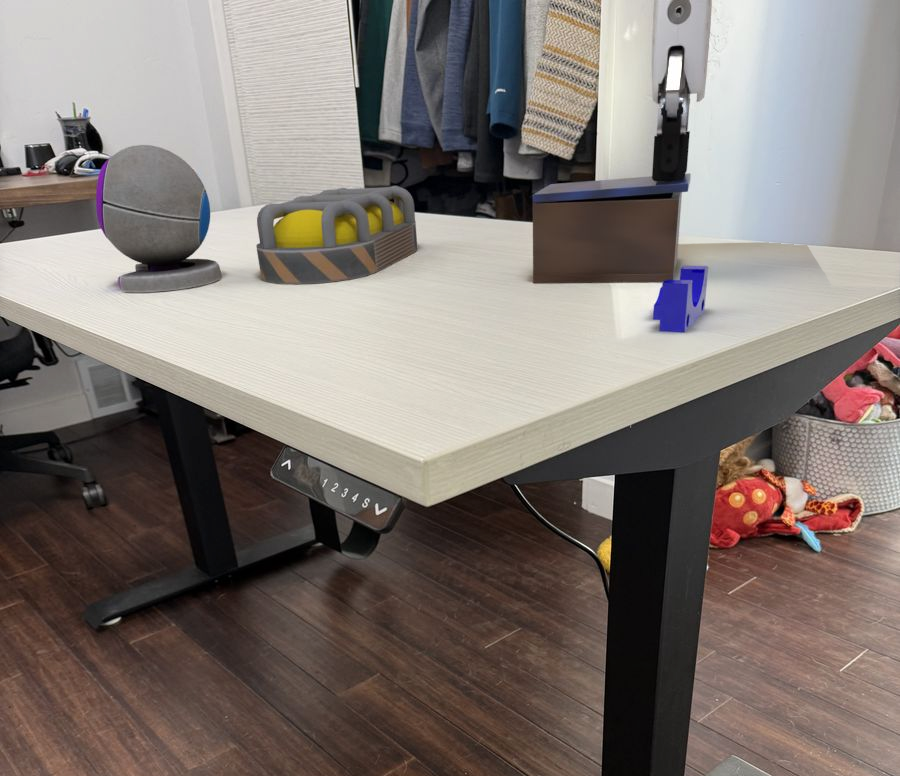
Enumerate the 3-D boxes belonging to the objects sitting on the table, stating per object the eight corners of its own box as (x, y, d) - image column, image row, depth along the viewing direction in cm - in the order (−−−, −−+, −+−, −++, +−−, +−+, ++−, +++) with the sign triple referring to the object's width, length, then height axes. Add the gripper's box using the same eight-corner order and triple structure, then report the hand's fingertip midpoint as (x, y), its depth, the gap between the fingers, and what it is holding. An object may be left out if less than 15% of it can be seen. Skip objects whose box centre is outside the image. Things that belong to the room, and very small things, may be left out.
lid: (690, 181, 94) (692, 119, 91) (687, 191, 84) (690, 123, 81) (550, 191, 98) (548, 133, 95) (532, 203, 88) (530, 138, 85)
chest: (676, 263, 98) (682, 187, 94) (673, 281, 89) (679, 198, 85) (549, 264, 102) (550, 192, 98) (533, 283, 92) (532, 203, 88)
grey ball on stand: (127, 277, 111) (97, 146, 103) (227, 270, 112) (204, 139, 104) (104, 296, 100) (68, 150, 92) (216, 287, 101) (189, 142, 93)
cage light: (426, 182, 119) (346, 206, 94) (430, 244, 123) (354, 283, 98) (328, 186, 122) (226, 210, 98) (335, 246, 126) (239, 284, 102)
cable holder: (663, 313, 76) (667, 265, 74) (704, 314, 75) (708, 266, 73) (640, 334, 70) (643, 282, 68) (684, 336, 69) (688, 283, 67)
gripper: (727, -53, 72) (707, 183, 81) (724, -30, 86) (707, 169, 95) (636, -44, 74) (626, 186, 83) (648, -22, 88) (638, 172, 97)
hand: (669, 175), depth 89 cm, fingers open, 6 cm apart
